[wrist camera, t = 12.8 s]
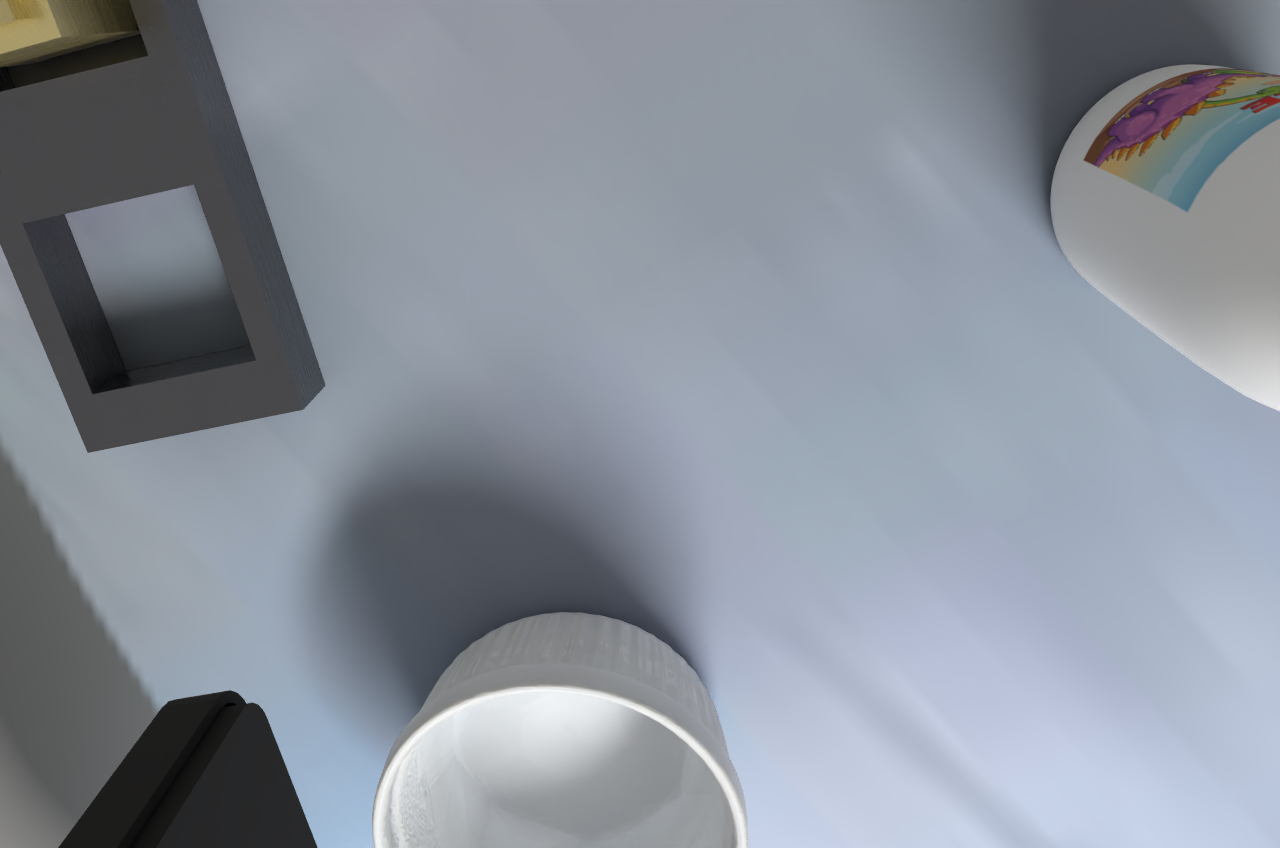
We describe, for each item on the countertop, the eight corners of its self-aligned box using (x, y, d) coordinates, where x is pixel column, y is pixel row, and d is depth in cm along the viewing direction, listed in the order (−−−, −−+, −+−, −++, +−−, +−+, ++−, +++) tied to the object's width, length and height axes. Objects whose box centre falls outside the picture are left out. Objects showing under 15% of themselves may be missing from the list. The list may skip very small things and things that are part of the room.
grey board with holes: (-118, -163, 36) (-174, -173, 33) (120, -228, 35) (78, -243, 32) (121, 426, 42) (87, 452, 40) (325, 385, 42) (302, 409, 39)
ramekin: (803, 673, 45) (821, 790, 39) (646, 902, 49) (638, 1040, 43) (499, 525, 43) (464, 619, 37) (364, 775, 48) (312, 899, 41)
